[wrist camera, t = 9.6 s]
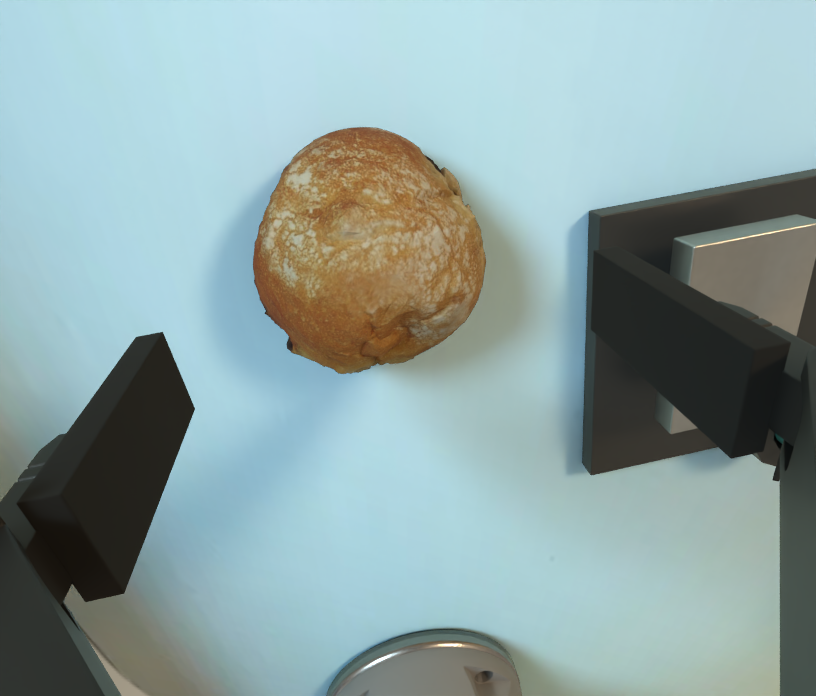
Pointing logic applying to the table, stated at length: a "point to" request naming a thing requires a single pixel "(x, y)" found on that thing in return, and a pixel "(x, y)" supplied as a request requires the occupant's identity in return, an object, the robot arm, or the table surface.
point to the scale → (652, 242)
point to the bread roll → (367, 251)
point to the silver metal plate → (746, 277)
